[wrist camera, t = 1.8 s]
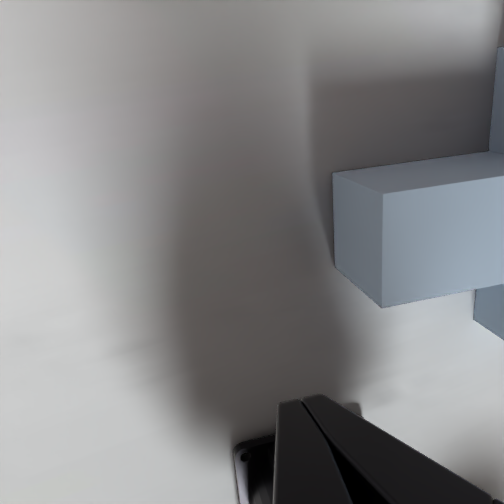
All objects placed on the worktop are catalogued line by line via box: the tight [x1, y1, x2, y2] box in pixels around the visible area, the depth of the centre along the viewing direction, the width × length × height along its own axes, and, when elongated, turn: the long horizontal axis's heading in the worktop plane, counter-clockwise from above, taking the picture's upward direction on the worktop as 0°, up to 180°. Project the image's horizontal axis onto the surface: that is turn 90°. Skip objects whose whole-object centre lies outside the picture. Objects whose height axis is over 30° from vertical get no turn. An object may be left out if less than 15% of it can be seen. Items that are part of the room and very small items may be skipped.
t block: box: [332, 47, 504, 340], centre depth 18 cm, size 12×11×4 cm
